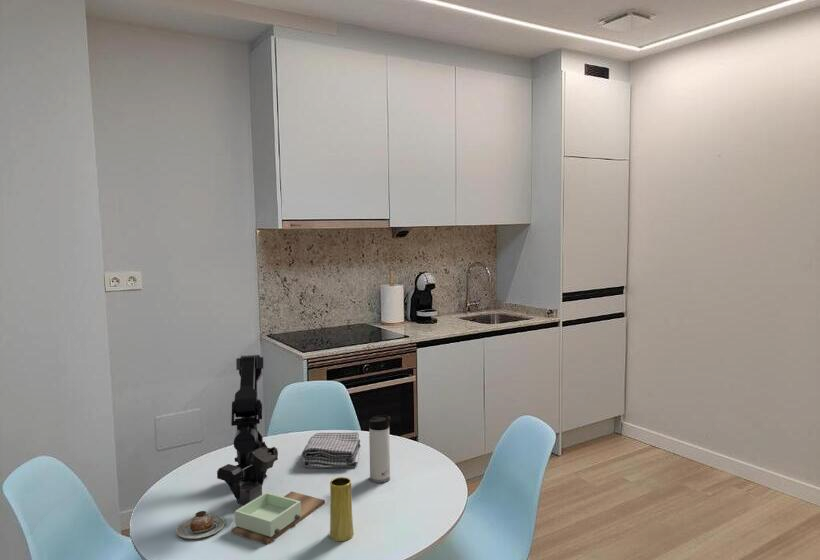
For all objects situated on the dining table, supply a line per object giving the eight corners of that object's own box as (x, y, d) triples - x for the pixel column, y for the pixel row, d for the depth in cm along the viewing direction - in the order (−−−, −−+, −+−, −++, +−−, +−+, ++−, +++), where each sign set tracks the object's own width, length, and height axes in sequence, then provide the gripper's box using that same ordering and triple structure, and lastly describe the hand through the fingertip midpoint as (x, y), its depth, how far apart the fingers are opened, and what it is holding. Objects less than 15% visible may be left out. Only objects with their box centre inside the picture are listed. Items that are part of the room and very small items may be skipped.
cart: (233, 525, 151) (232, 510, 150) (264, 505, 161) (264, 491, 161) (273, 537, 145) (273, 522, 144) (303, 516, 155) (303, 502, 155)
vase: (330, 529, 151) (329, 476, 149) (353, 528, 151) (352, 475, 150) (329, 542, 145) (327, 487, 143) (353, 540, 145) (352, 486, 144)
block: (236, 504, 165) (236, 487, 165) (249, 496, 170) (248, 480, 169) (250, 507, 163) (249, 490, 163) (262, 500, 167) (261, 483, 167)
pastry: (224, 538, 148) (223, 520, 147) (174, 546, 144) (173, 528, 144) (225, 515, 159) (224, 499, 159) (178, 522, 156) (177, 506, 155)
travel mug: (388, 484, 177) (387, 420, 175) (367, 482, 178) (366, 419, 177) (393, 475, 183) (392, 414, 181) (372, 473, 184) (372, 412, 183)
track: (231, 532, 149) (231, 529, 149) (291, 494, 171) (291, 491, 170) (267, 544, 144) (267, 540, 144) (324, 503, 165) (324, 500, 165)
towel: (311, 451, 204) (310, 430, 203) (363, 452, 203) (362, 430, 202) (301, 469, 189) (300, 446, 188) (357, 470, 188) (356, 447, 187)
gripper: (245, 456, 153) (247, 512, 154) (290, 433, 169) (292, 484, 171) (214, 449, 158) (216, 503, 159) (261, 427, 174) (263, 477, 176)
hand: (249, 492), depth 166 cm, fingers open, 9 cm apart
